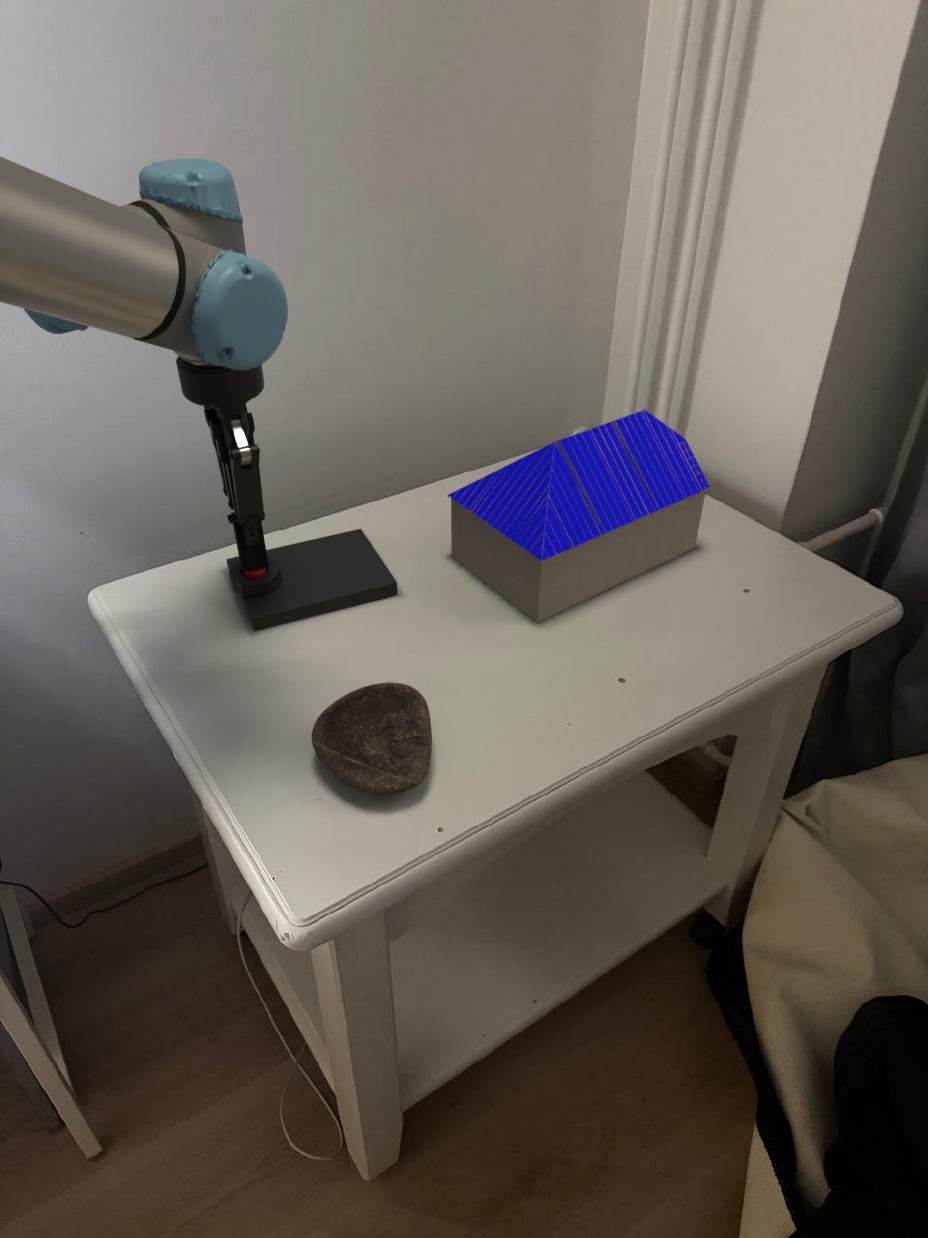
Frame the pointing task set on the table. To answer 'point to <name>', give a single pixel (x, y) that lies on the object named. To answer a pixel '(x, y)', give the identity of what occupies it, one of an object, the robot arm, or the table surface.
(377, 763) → the stone
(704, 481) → the house
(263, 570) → the tare button
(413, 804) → the table surface
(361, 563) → the scale
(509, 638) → the table surface
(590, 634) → the table surface
